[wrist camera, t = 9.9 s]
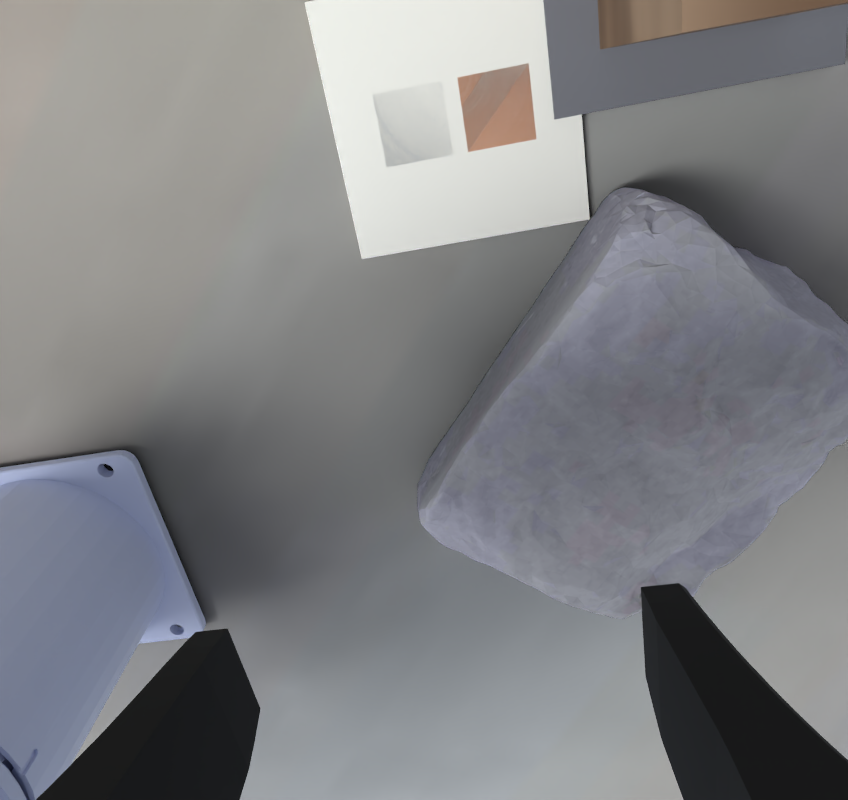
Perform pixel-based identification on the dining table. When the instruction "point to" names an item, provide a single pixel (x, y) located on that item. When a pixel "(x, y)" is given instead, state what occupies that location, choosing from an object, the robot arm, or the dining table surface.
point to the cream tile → (446, 120)
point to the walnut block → (687, 16)
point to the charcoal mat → (680, 56)
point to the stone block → (641, 413)
